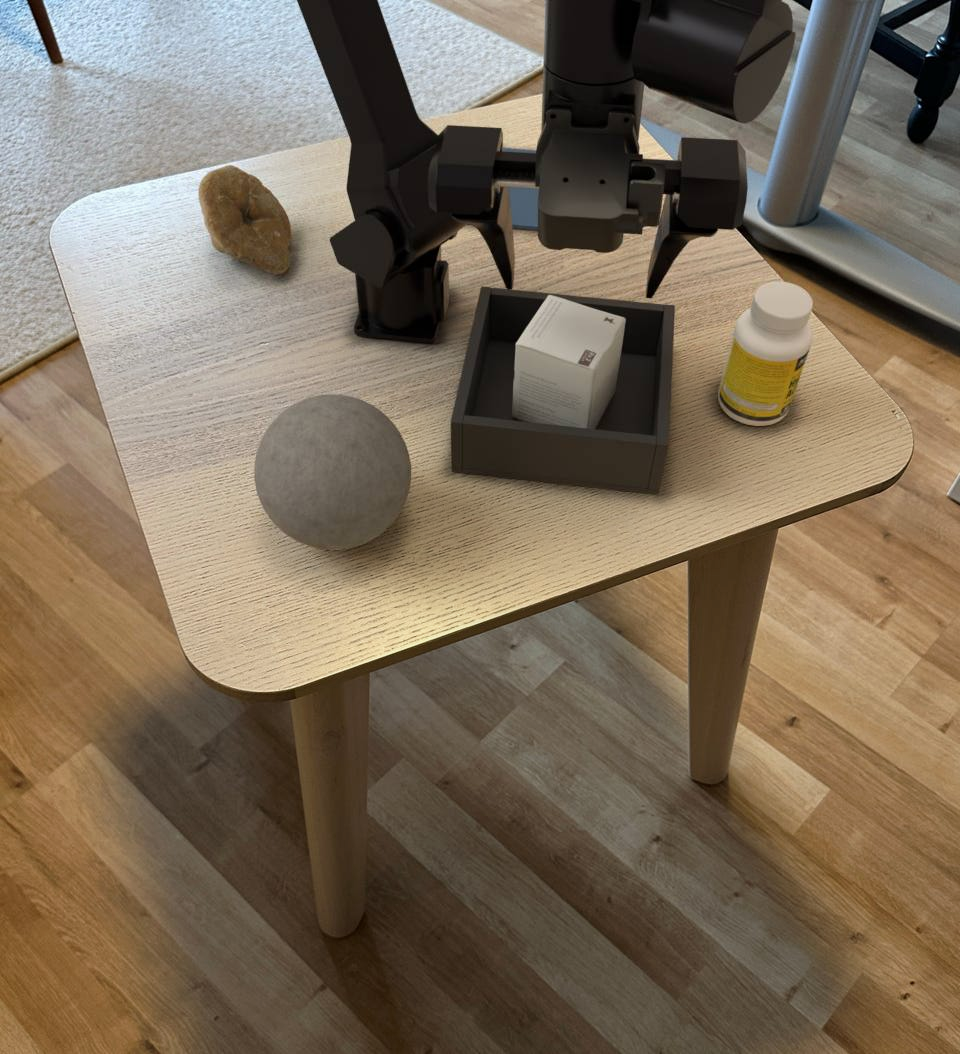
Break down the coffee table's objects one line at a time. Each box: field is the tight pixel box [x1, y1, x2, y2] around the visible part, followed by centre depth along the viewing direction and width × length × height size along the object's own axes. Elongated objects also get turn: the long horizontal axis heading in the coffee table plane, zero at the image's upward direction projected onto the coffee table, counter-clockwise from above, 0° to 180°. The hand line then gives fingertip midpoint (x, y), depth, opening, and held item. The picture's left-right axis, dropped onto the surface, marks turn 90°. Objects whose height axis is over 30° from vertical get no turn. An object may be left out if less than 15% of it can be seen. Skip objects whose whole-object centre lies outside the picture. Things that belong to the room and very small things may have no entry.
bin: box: [450, 286, 676, 496], centre depth 78 cm, size 15×15×5 cm
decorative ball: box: [253, 393, 412, 551], centre depth 69 cm, size 10×10×10 cm
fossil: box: [197, 164, 293, 275], centre depth 90 cm, size 9×4×10 cm
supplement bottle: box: [717, 281, 814, 427], centre depth 77 cm, size 5×5×10 cm
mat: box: [503, 147, 539, 231], centre depth 98 cm, size 12×12×1 cm
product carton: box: [512, 295, 626, 429], centre depth 77 cm, size 6×6×7 cm
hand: (579, 290), depth 72 cm, fingers open, 9 cm apart
